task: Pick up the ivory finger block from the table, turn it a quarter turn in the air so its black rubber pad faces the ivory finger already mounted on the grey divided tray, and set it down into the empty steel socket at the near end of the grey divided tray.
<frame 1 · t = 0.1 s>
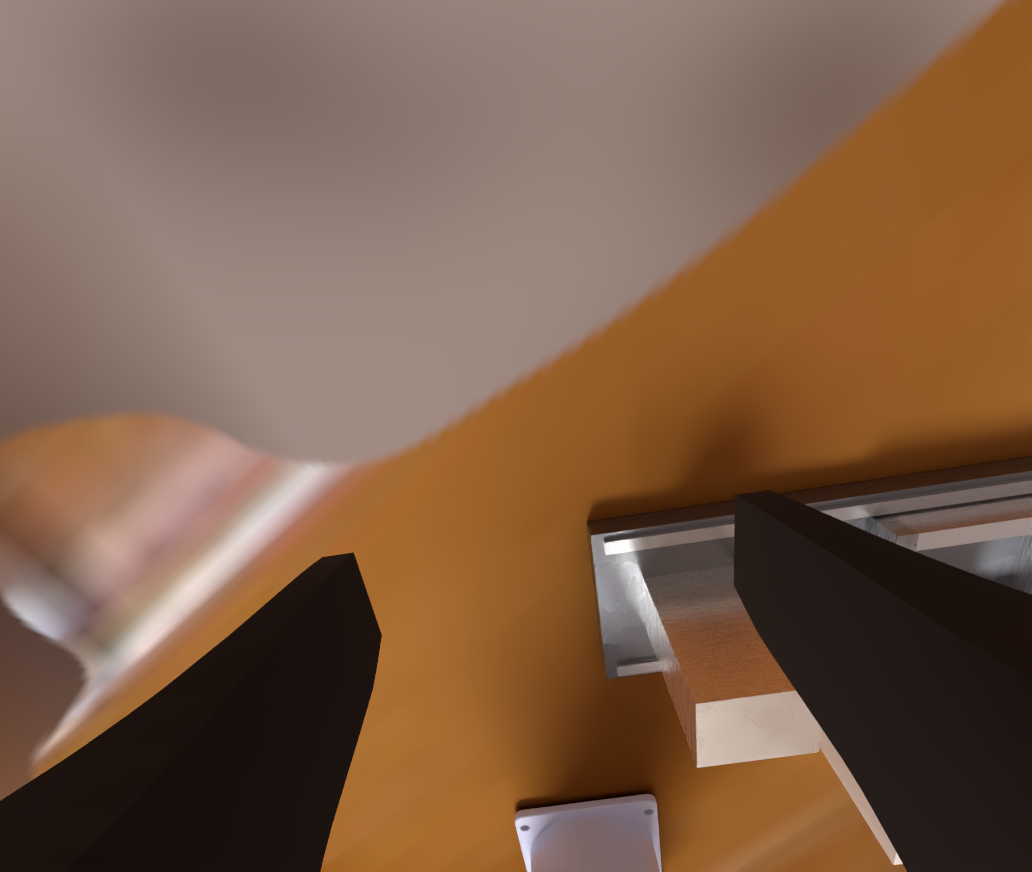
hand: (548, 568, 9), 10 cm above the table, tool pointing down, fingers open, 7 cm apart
finger block: (841, 700, 25), on the table
grey divided tray: (816, 565, 22), on the table
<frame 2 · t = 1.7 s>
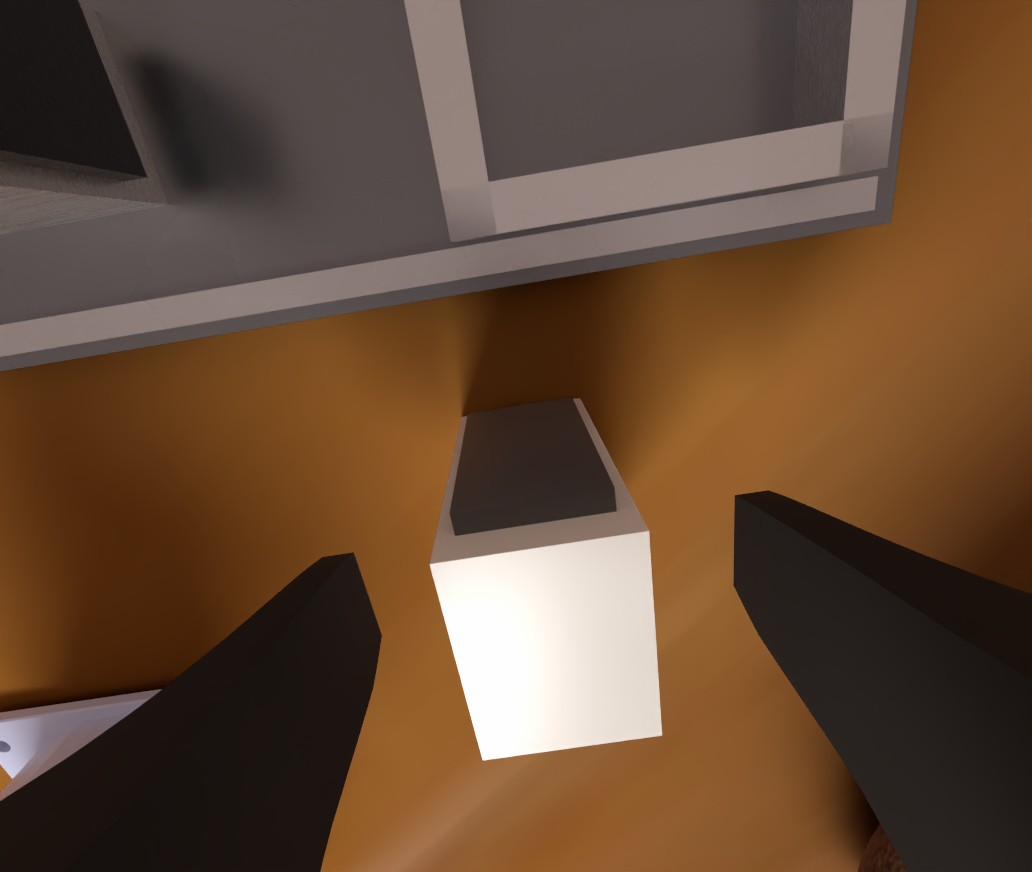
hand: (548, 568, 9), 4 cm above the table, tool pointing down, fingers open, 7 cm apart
finger block: (532, 478, 13), on the table
grey divided tray: (366, 90, 10), on the table
pottery: (1006, 782, 18), on the table
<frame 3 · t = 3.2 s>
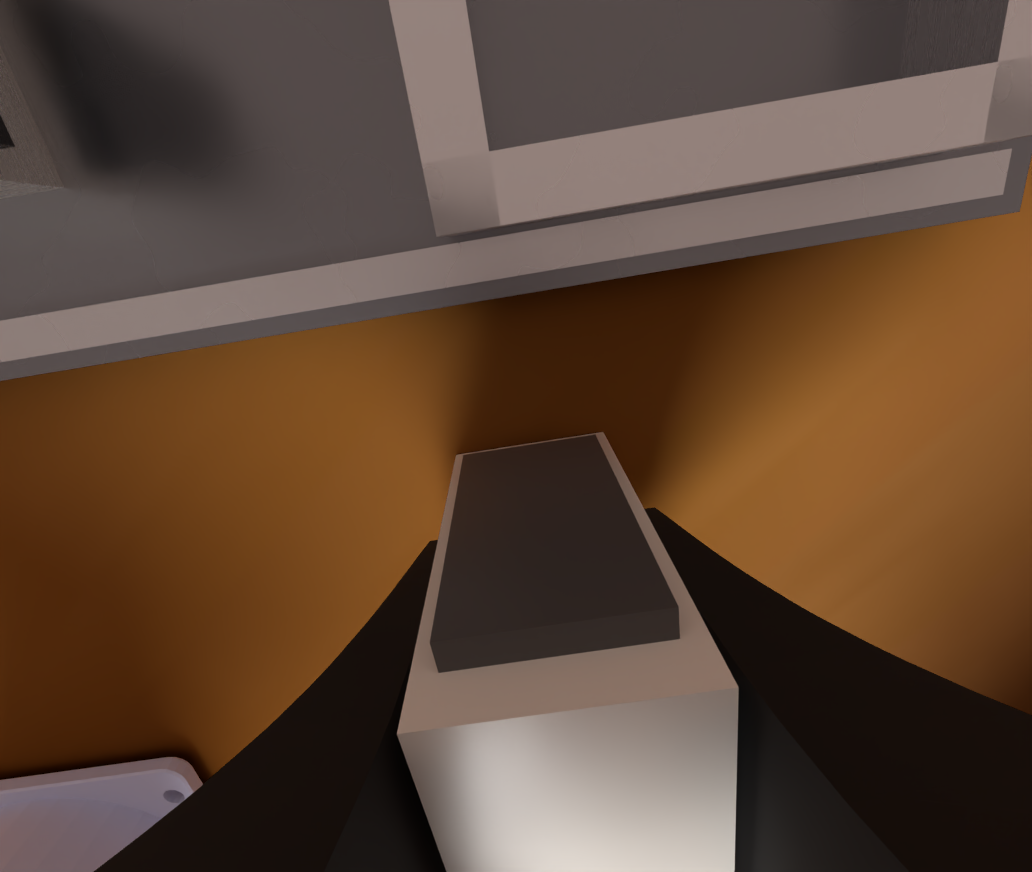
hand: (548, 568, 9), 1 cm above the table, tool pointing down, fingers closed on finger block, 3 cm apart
finger block: (542, 527, 11), on the table, touching gripper
grey divided tray: (327, 36, 7), on the table
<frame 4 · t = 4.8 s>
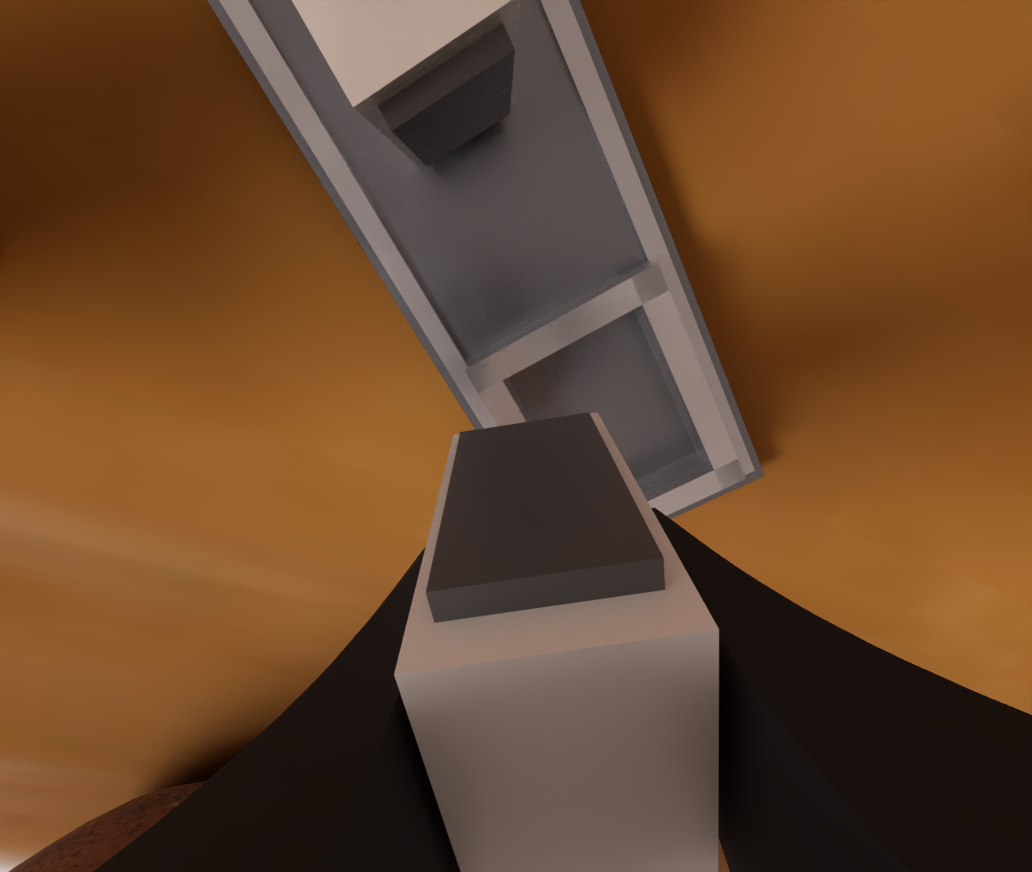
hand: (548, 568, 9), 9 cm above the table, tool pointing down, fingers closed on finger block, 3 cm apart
finger block: (538, 506, 11), point 7 cm above the table, touching gripper
grey divided tray: (530, 269, 15), on the table
pottery: (271, 827, 25), on the table
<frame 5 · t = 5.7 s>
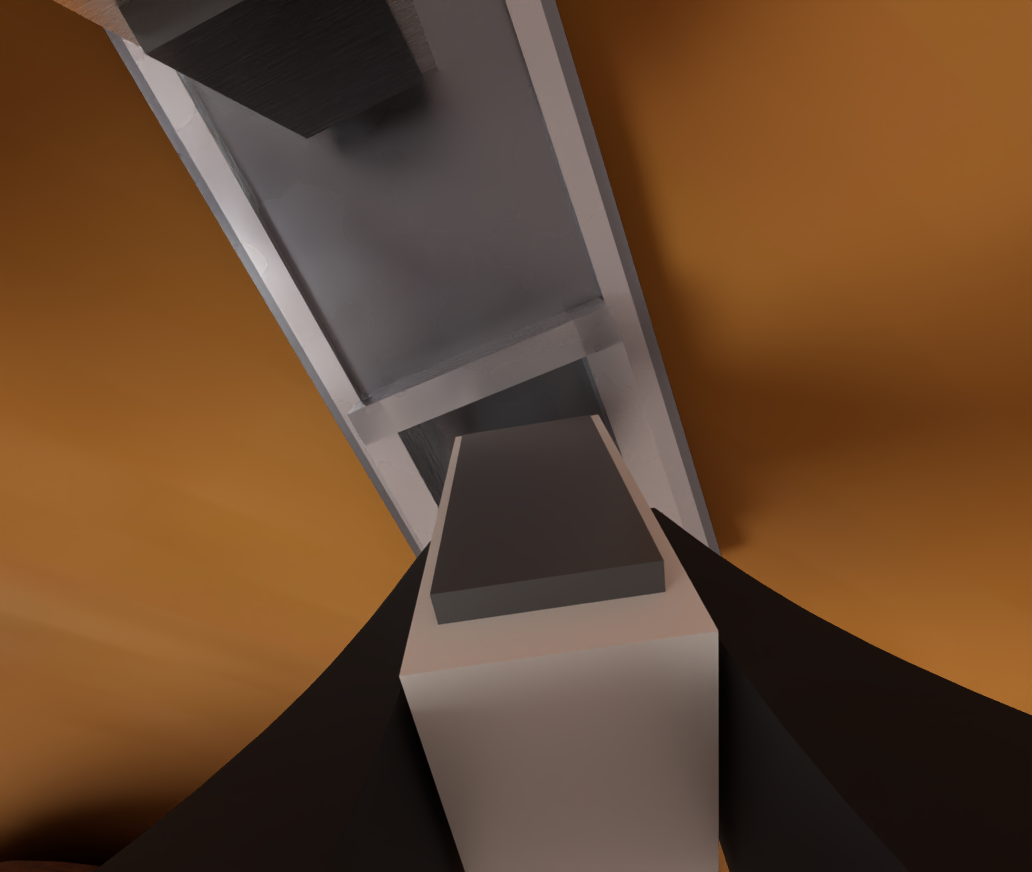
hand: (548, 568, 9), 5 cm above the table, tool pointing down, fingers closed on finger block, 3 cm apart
finger block: (539, 508, 11), point 3 cm above the table, touching gripper
grey divided tray: (457, 290, 12), on the table
when the fingers open (4 cm above the table, at t = 6.5 s): finger block drops 2 cm, resting on grey divided tray.
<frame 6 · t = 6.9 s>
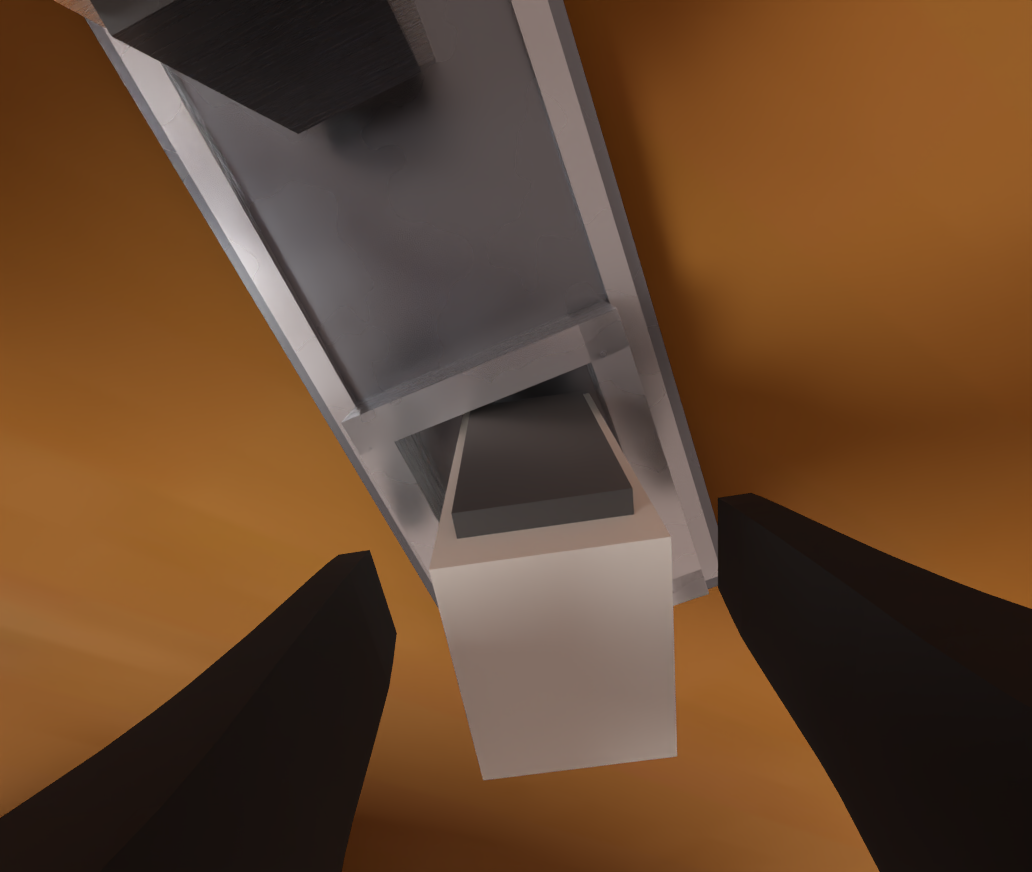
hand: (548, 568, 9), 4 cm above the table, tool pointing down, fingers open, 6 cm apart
finger block: (536, 476, 12), point 1 cm above the table, touching grey divided tray
grey divided tray: (457, 292, 11), on the table
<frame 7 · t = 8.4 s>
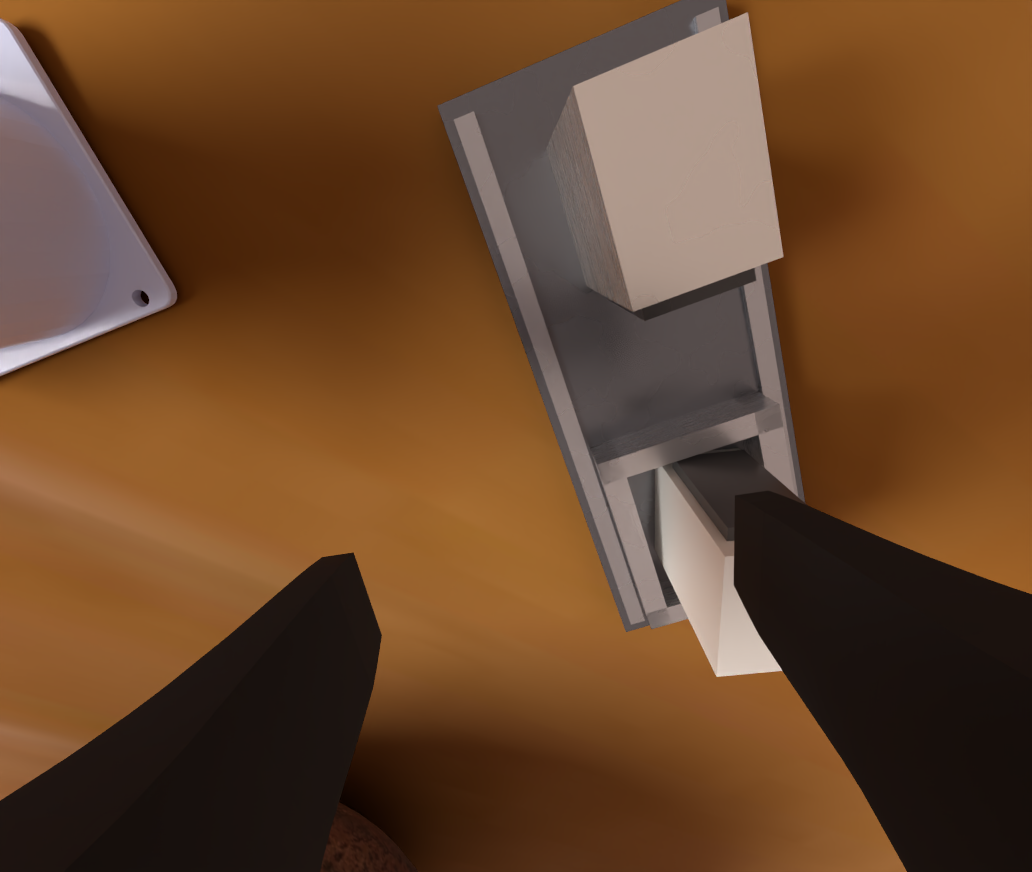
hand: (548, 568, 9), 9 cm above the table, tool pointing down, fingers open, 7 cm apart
finger block: (694, 500, 18), point 1 cm above the table, touching grey divided tray
grey divided tray: (654, 378, 17), on the table
pottery: (292, 826, 27), on the table
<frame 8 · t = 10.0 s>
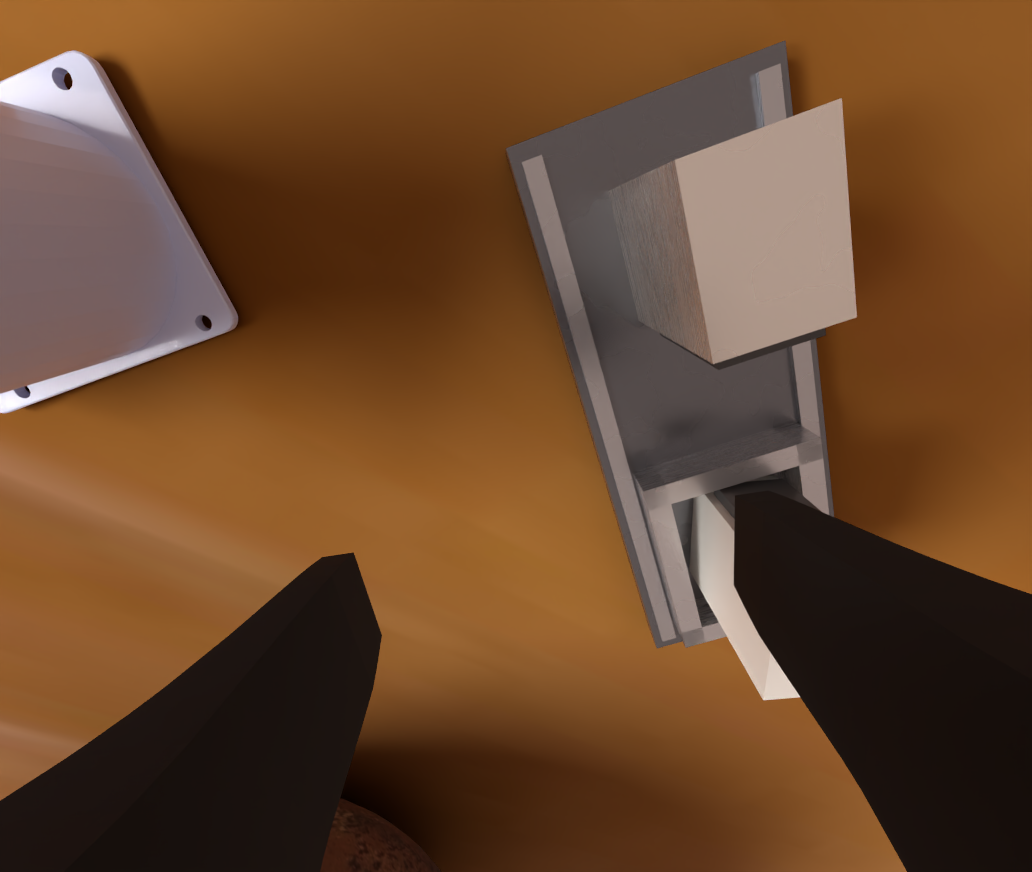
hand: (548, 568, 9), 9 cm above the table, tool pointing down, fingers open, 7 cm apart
finger block: (730, 524, 19), point 1 cm above the table, touching grey divided tray
grey divided tray: (695, 406, 18), on the table
pottery: (316, 832, 27), on the table
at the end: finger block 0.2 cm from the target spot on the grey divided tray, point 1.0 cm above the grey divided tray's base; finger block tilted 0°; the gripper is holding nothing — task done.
